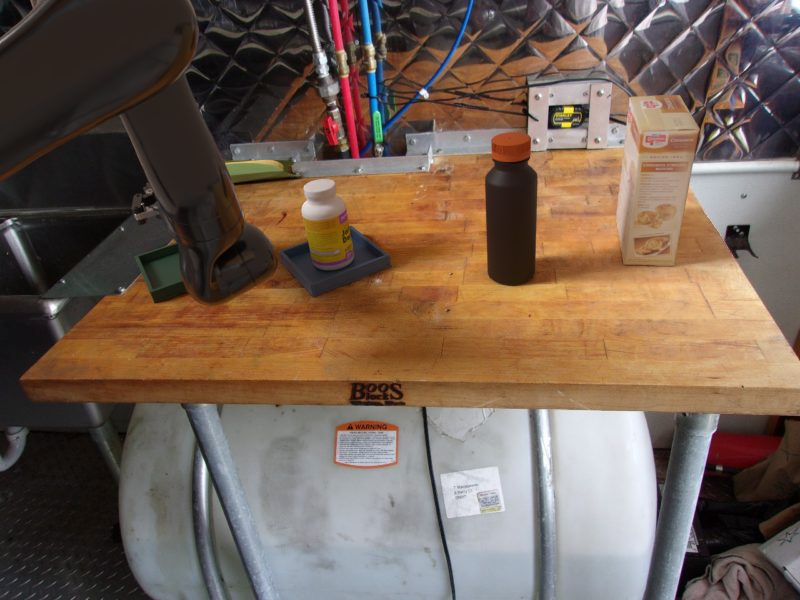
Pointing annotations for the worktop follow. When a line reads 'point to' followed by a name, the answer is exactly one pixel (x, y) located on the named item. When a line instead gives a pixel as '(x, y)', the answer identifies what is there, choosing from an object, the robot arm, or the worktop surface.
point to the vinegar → (511, 210)
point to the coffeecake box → (655, 178)
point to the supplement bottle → (327, 226)
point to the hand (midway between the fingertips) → (169, 183)
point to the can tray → (162, 272)
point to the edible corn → (258, 169)
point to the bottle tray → (322, 281)
